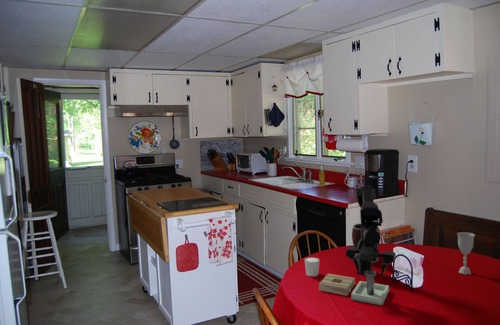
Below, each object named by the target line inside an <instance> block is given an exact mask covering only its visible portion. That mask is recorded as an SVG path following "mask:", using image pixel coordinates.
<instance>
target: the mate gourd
mask: <svg viewBox="0 0 500 325" xmlns="http://www.w3.org/2000/svg"><path fill="white" fill-rule="evenodd" d="M378 231H379V234H380V235H381V232H380V226H378ZM360 239H361V223H355V224H353V225H352V231H351V241H352V244H353V247H358V242H359V241H360ZM380 242H381V241H380ZM380 242H379V243H378V247H379V246H380ZM379 259H380V258H376V260H375V261H372V264H373V263H374V264H375V263H378V262H379Z"/></svg>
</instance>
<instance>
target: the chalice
mask: <svg viewBox="0 0 500 325" xmlns="http://www.w3.org/2000/svg"><path fill="white" fill-rule="evenodd" d="M456 235H457V245H458V248H459V250H460V252H461V254H463V261H462V262H463V266H461V267H460V269H459V271H458V273H459V274H461V273H462V275H466V274H469V275H471V274H472V272H471V270H470V268H469V267H468V266H467V263H468V261H467V260H468V257H467V256H468V255H469V254H470V253H471V251H472V249H473V247H474V238H475V236H476V235H475V234H474V233H473V232H464V231H463V232H462V231H461V232H457V233H456Z"/></svg>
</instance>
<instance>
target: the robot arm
mask: <svg viewBox="0 0 500 325" xmlns="http://www.w3.org/2000/svg"><path fill="white" fill-rule="evenodd" d="M375 199H376V189H375V188H373V186H371V185H362V186H360V187H358V188H356V189H355V200H356V202H357V204H358V206H359V208H360V210H359V218H360V224H361V239H360V241H359V242H358V247H355V246H349V247H348V248H347V249H346V250H345V257H347V258H349V259H350V260H352V261H353V263H354V266H355V267H356V268H355V269H356V271H357V272H356V273H357V274H358V275H359V274H360V275H365V271H368V270H371V271H375V270H374V269H373V267H372V266H373V263H372V261H375V260H376V258H378V259H382V262H381V275H380V276H381V278H382V277H384V273H385V271H386V268H387V266H388V265H390V264H392V263H394V262H395V261H396V258H397V257H396V256H397V255H396V252H395V251H392V250H391V251H389V250H385V251H384V252H380V251H379V246H378V243H379V242H381V238H382V237H381V233H380V234H379V231H380V230H379V231H378V226H379V227H382V224H383V213H382V210H381V209H380V208H379V205H378V204H377V203H375ZM379 244H380V243H379Z"/></svg>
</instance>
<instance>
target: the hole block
mask: <svg viewBox="0 0 500 325" xmlns="http://www.w3.org/2000/svg"><path fill="white" fill-rule="evenodd" d="M355 279H356V278H355V277H350V276H344V275H339V274H332V273H327V274H326V275H325V276H324V278H323V279H322V280H321V281H320V282H319V283H318V290H319V292H326V293H330V294H331V293H332V294H336V295H337V294H338V295H342V296H349V294H350V292H351V291H352V289H353V288H354V286H355V285H356V284H355V283H356V282H355Z"/></svg>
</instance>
